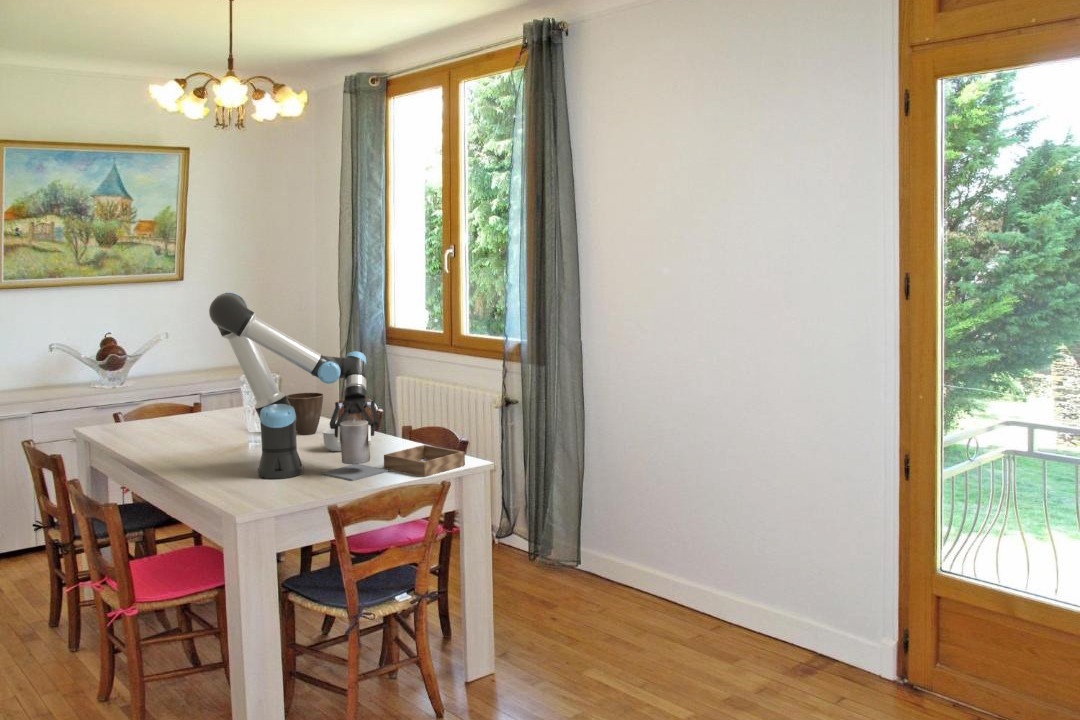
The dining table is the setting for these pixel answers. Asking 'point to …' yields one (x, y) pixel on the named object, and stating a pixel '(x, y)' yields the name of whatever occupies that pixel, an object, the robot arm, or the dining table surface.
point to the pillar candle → (354, 442)
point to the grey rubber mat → (354, 472)
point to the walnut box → (410, 461)
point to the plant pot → (306, 411)
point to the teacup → (331, 440)
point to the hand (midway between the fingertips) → (354, 443)
